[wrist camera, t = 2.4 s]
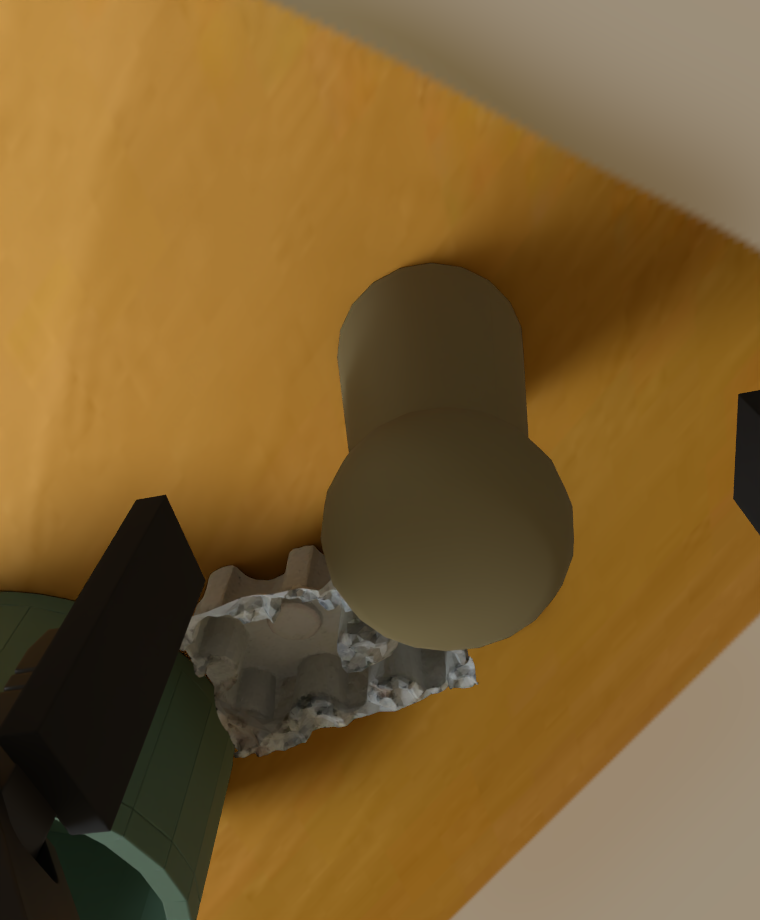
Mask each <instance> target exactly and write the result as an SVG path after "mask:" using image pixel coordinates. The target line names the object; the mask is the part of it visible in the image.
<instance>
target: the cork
mask: <svg viewBox="0 0 760 920" xmlns="http://www.w3.org/2000/svg"><path fill="white" fill-rule="evenodd" d="M337 358H338V366H339V375H340V383H341V391H342V399H343V408H344V416H345V424H346V432H347V441H348V449H349V454H348V455H347V457H346V458H345V460H344V461H343V463H342V465H341V466H340V468H339V470H338V472H337V474H336V476H335V478H334V480H333V481H332V483H331V485H330V487H329V489H328V491H327V495H326V500H325V506H324V513H323V522H322V531H321V543H322V548H323V552H324V556H325V560H326V563H327V567H328V570H329V574H330V577H331V580H332V584H333V586H334V587H335V588H336V590H337V591H338V592H339V594H340V595H341V596H342V598H343V599H344V600H345V602H346V603H347V604H348V606H349V607H350V608H351V610H352V611H353V612H354V613H355V614H356V615H357V616H358V618H359V619H360V620H361V621H363V622H364V623H366V624H367V625H369V626H370V627H371V628H373V629H374V630H376V631H377V632H378V633H380V634H381V635H383V636H384V637H386V638H389V639H392V640H395V641H398V642H400V643H403V644H406V645H409V646H411V647H414V648H423V649H432V650H440V651H453V650H462V649H471V648H479V647H482V646H485V645H488V644H491V643H494V642H497V641H500V640H503V639H506V638H508V637H510V636H512V635H513V634H515V633H516V632H518V631H520V630H521V629H523V628H524V627H526V626H527V625H529V624H530V623H532V622H533V621H535V620H536V619H537V618H538V616H539V615H540V614H541V613H542V612H543V610H544V609H545V608H546V607H547V606H548V604H549V603H550V602H551V601H552V600H553V598H554V597H555V596H556V594H557V592H558V591H559V589H560V588H561V586H562V584H563V582H564V579H565V576H566V573H567V571H568V568H569V565H570V562H571V560H572V557H573V544H574V532H573V510H572V504H571V502H570V499H569V497H568V494H567V492H566V489H565V487H564V485H563V483H562V481H561V479H560V477H559V475H558V473H557V471H556V468H555V466H554V464H553V462H552V460H551V459H550V458H549V457H548V456H547V455H546V454H545V453H544V452H543V451H542V450H541V449H540V448H539V447H537V446H536V445H535V444H534V443H533V442H532V441H531V440H530V439H529V438H528V424H527V406H526V389H525V371H524V354H523V342H522V329H521V326H520V323H519V321H518V319H517V317H516V315H515V312H514V310H513V308H512V306H511V304H510V302H509V301H508V300H507V298H506V297H505V296H504V295H503V294H502V293H501V292H500V291H499V290H498V289H497V288H496V287H495V286H494V285H493V284H492V283H491V282H490V281H489V280H487V279H485V278H483V277H481V276H479V275H477V274H475V273H473V272H471V271H469V270H467V269H465V268H463V267H457V266H449V265H442V264H435V263H428V264H423V265H417V266H411V267H406V268H400V269H398V270H396V271H395V272H393V273H391V274H389V275H387V276H385V277H383V278H381V279H379V280H378V281H376V282H374V283H372V285H371V286H370V287H369V288H368V289H367V290H366V291H365V292H364V293H363V294H362V295H361V296H360V297H359V298H358V299H357V300H356V301H355V302H354V303H353V304H352V306H351V308H350V311H349V313H348V315H347V317H346V319H345V321H344V323H343V325H342V328H341V330H340V338H339V347H338V356H337Z"/></svg>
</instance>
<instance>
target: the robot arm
mask: <svg viewBox="0 0 760 920" xmlns="http://www.w3.org/2000/svg"><path fill="white" fill-rule="evenodd" d="M733 499H734V500H735V502H736V503H737V504H738V506H739V507H740V509H741V510H742V511H743V513H744V514H745V515H746V517H747V518H748V520H749V521H750V522H751V524H752V525H753V526H754V528H755V529H756V531H757V532H758V533H759V535H760V390H758V391H752V392H747V393H741V394H738V414H737V435H736V455H735V475H734V496H733ZM204 584H205V579H204V576H203V574H202V572H201V570H200V568H199V566H198V563H197V561H196V559H195V557H194V555H193V553H192V550H191V548H190V546H189V544H188V542H187V540H186V537H185V535H184V533H183V531H182V529H181V527H180V524H179V522H178V520H177V518H176V516H175V514H174V511H173V509H172V507H171V505H170V503H169V501H168V498H167V496H166V495H161V496H156V497H150V498H144V499H139V500H136V501H135V503H134V505H133V506H132V508H131V510H130V511H129V513H128V515H127V516H126V518H125V520H124V521H123V523H122V525H121V526H120V528H119V530H118V531H117V533H116V535H115V536H114V538H113V540H112V541H111V543H110V544H109V546H108V548H107V549H106V551H105V553H104V554H103V556H102V558H101V559H100V561H99V563H98V564H97V566H96V568H95V569H94V571H93V573H92V574H91V576H90V578H89V579H88V581H87V583H86V584H85V586H84V588H83V589H82V591H81V593H80V594H79V596H78V598H77V599H76V601H75V603H74V604H73V606H72V608H71V609H70V611H69V613H68V614H67V616H66V618H65V619H64V621H63V623H62V624H61V626H60V628H55V629H48V630H47V631H46V632H45V633H44V634H43V635H42V636H41V637H40V638H39V639H38V640H37V641H36V642H35V643H34V644H33V645H32V646H31V647H30V648H29V649H28V650H27V651H26V653H25V655H24V656H23V658H22V659H21V661H20V662H19V664H18V666H17V667H16V669H15V670H14V671H15V674H14V675H11V677H10V678H9V680H8V681H7V683H6V685H5V686H4V692H1V693H0V920H80V918H79V915H78V912H77V909H76V906H75V904H74V901H73V898H72V895H71V892H70V889H69V887H68V884H67V881H66V878H65V875H64V872H63V869H62V867H61V864H60V861H59V858H58V855H57V852H56V849H55V847H54V846H53V845H52V843H51V842H50V841H49V840H48V838H47V835H48V833H49V830H50V828H51V826H52V824H53V822H54V819H55V817H57V818H58V819H59V821H60V822H61V823H62V824H63V826H64V827H65V828H66V830H67V831H68V832H69V833H70V835H79V834H89V833H99V832H109V831H111V829H112V826H113V823H114V821H115V818H116V815H117V813H118V810H119V808H120V805H121V802H122V800H123V797H124V794H125V792H126V789H127V786H128V784H129V781H130V779H131V776H132V773H133V771H134V768H135V765H136V763H137V760H138V757H139V755H140V752H141V750H142V747H143V744H144V742H145V739H146V736H147V734H148V731H149V729H150V726H151V723H152V721H153V718H154V715H155V713H156V710H157V707H158V705H159V702H160V700H161V697H162V694H163V692H164V689H165V686H166V684H167V681H168V678H169V676H170V673H171V671H172V668H173V665H174V663H175V660H176V657H177V655H178V652H179V649H180V647H181V644H182V642H183V639H184V636H185V634H186V631H187V628H188V626H189V623H190V620H191V618H192V615H193V613H194V610H195V607H196V605H197V602H198V599H199V597H200V594H201V591H202V589H203V586H204Z"/></svg>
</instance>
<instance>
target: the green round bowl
mask: <svg viewBox="0 0 760 920" xmlns="http://www.w3.org/2000/svg"><path fill="white" fill-rule="evenodd" d="M74 603H75V602H74V601H71V600H67V599H62V598H57V597H52V596H46V595H41V594H32V593H22V592H0V693H1V692H4V686H5V685H6V683H7V681H8V680H9V678H10V677H11V675H14V674H15V671H14V670H15V669H16V667H17V666H18V664H19V662H20V661H21V659H22V658H23V656H24V655H25V653H26V651H27V650H28V649H29V648H30V647H31V646H32V645H33V644H34V643H35V642H36V641H37V640H38V639H39V638H40V637H41V636H42V635H43V634H44V633H45V632H46V631H47V630H48V629H55V628H60V626H61V624H62V623H63V621H64V619H65V618H66V616H67V614H68V613H69V611H70V609H71V608H72V606H73V604H74ZM234 751H235V747H234V745H233V743H232V741H231V739H230V736H229V734H228V731H226V730H225V728H224V727H223V725H222V723H221V722H220V719H219V717H218V714H217V711H216V706H215V698H214V686H213V684H212V683H211V682H210V681H209V680H208V678H207V677H206V676H205V675H204V676H203V677H198V676H197V675H196V674H195V672H194V666H193V663H192V662H191V661H190V660H189V659H188V658H187V657H186V656H184V655H183V654H182V653H180V652H178V655H177V657H176V660H175V663H174V665H173V668H172V671H171V673H170V676H169V678H168V681H167V684H166V686H165V689H164V692H163V694H162V697H161V700H160V702H159V705H158V707H157V710H156V713H155V715H154V718H153V721H152V723H151V726H150V729H149V731H148V734H147V736H146V739H145V742H144V744H143V747H142V750H141V752H140V755H139V757H138V760H137V763H136V765H135V768H134V771H133V773H132V776H131V779H130V781H129V784H128V786H127V789H126V792H125V794H124V797H123V800H122V802H121V805H120V808H119V810H118V813H117V815H116V818H115V821H114V823H113V826H112V829H111V831H109V832H99V833H89V834H79V835H70V833H69V832H68V831H67V830H66V828H65V827H64V826H63V824H62V823H61V822H60V821H59V819H58V818H57V817H55V819H54V822H53V824H52V826H51V828H50V830H49V833H48V835H47V838H48V840H49V841H50V842H51V843H52V845H53V846H54V847H55V849H56V852H57V855H58V858H59V861H60V864H61V867H62V869H63V872H64V875H65V878H66V881H67V884H68V887H69V889H70V892H71V895H72V898H73V901H74V904H75V906H76V909H77V912H78V915H79V918H80V920H196V919H197V915H198V910H199V905H200V902H201V898H202V893H203V889H204V885H205V881H206V876H207V872H208V868H209V864H210V859H211V855H212V851H213V846H214V842H215V838H216V834H217V829H218V825H219V821H220V817H221V812H222V808H223V804H224V800H225V795H226V791H227V787H228V783H229V778H230V774H231V770H232V766H233V756H234Z"/></svg>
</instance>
